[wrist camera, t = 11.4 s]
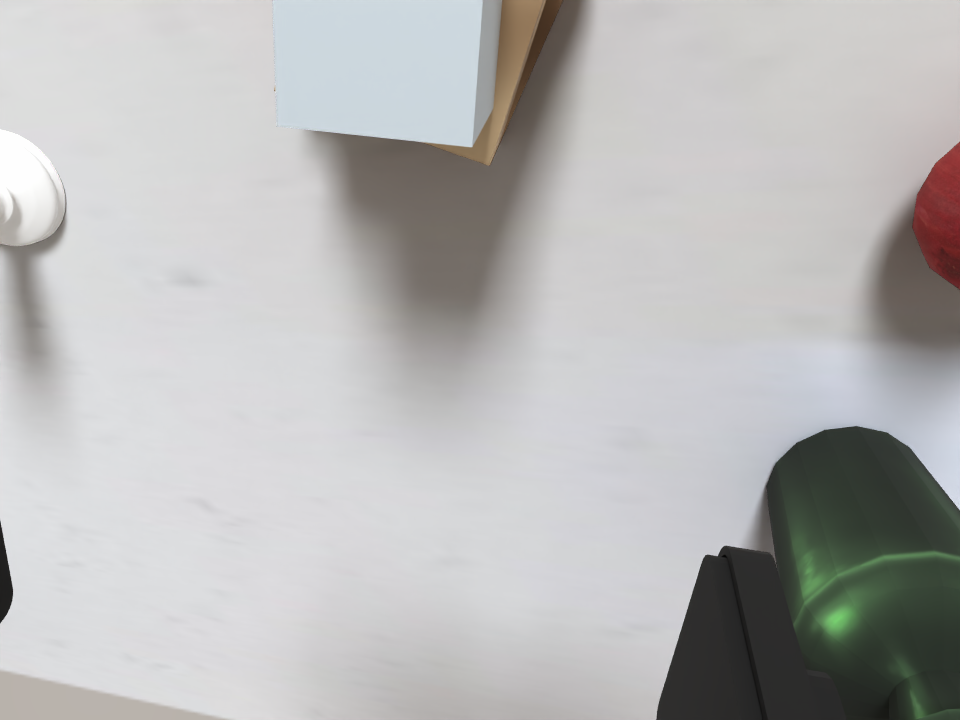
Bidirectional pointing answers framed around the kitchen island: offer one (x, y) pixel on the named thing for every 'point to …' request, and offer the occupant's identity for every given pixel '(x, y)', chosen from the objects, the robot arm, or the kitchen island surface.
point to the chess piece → (27, 192)
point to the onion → (941, 217)
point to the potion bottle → (870, 572)
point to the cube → (387, 67)
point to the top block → (504, 75)
